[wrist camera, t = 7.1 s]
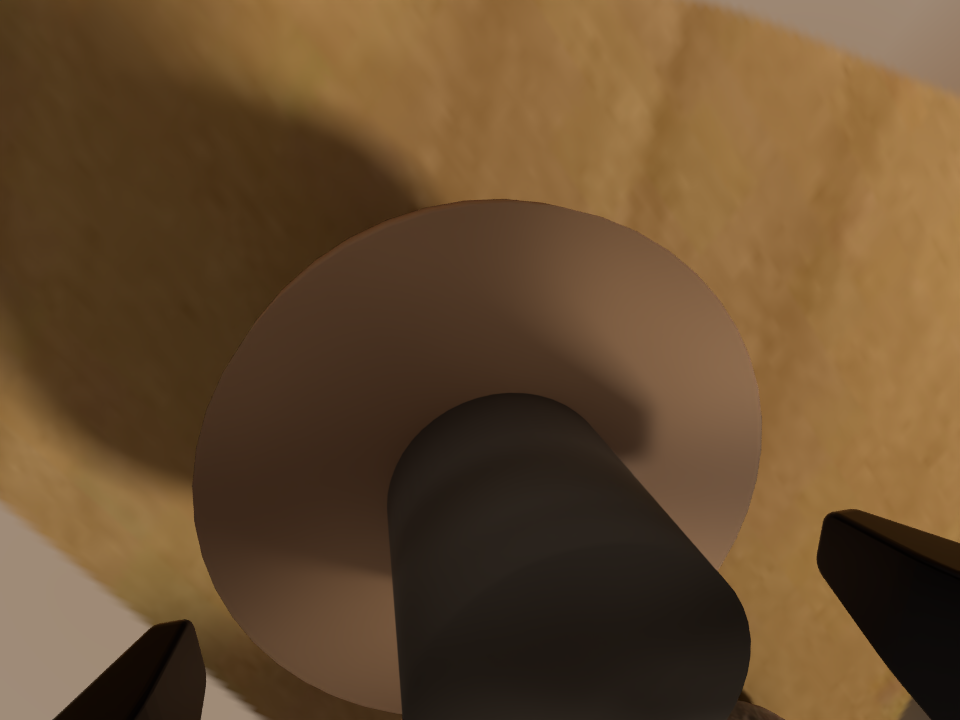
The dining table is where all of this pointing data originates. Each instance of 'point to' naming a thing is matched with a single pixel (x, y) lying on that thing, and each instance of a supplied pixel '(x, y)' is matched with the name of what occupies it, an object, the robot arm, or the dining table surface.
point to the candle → (751, 712)
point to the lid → (489, 472)
